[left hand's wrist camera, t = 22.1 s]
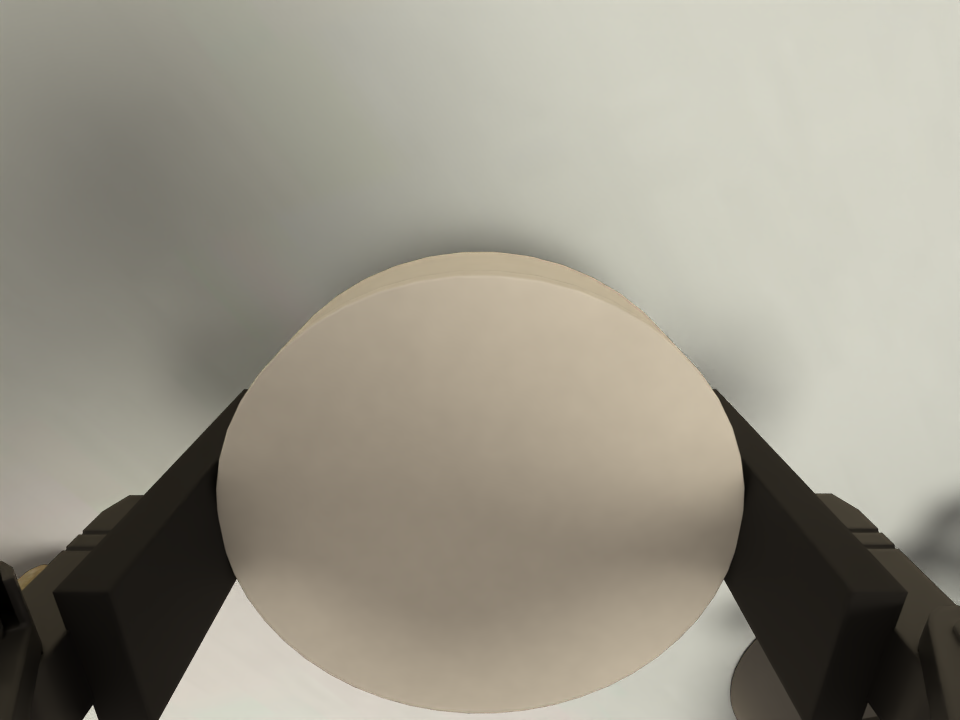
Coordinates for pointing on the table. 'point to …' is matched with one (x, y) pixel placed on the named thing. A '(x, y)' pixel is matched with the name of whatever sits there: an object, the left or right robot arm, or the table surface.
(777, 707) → the jar
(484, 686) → the lid
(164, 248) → the table surface
